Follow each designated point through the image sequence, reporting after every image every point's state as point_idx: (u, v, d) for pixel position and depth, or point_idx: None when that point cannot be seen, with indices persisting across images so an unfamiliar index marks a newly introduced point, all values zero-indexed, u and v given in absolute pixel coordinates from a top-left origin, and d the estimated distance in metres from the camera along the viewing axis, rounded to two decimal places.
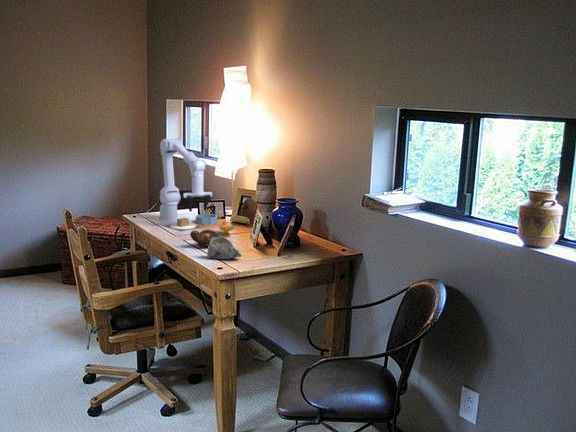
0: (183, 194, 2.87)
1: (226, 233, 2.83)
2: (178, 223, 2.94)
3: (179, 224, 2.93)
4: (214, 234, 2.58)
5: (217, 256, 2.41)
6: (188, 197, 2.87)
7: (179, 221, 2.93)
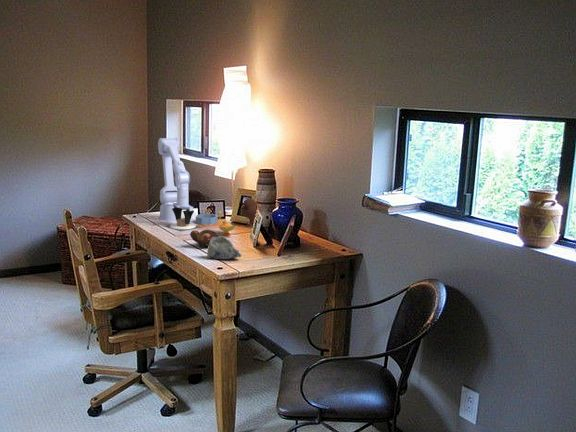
0: (175, 203, 2.99)
1: (226, 233, 2.83)
2: (178, 223, 2.94)
3: (179, 224, 2.93)
4: (214, 234, 2.58)
5: (217, 256, 2.41)
6: (175, 207, 2.97)
7: (179, 221, 2.93)
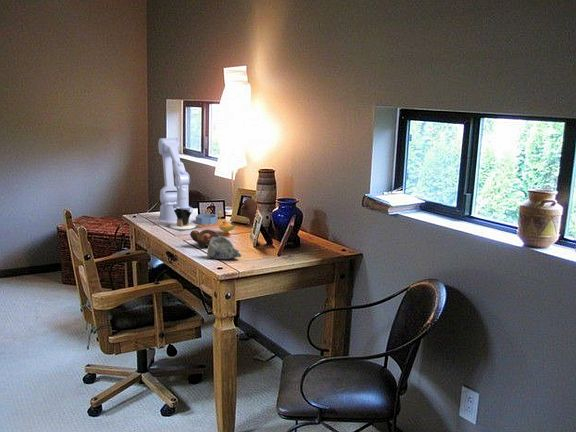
0: (174, 204, 2.99)
1: (226, 233, 2.83)
2: (178, 223, 2.94)
3: (179, 224, 2.93)
4: (214, 234, 2.58)
5: (217, 256, 2.41)
6: (175, 208, 2.97)
7: (179, 221, 2.93)
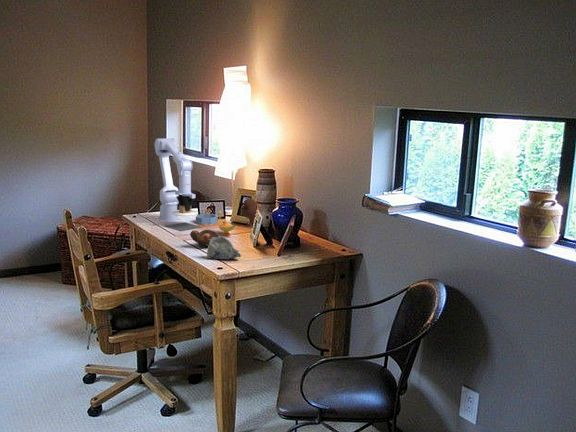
0: None
1: (226, 233, 2.83)
2: (180, 210, 2.94)
3: (181, 211, 2.93)
4: (214, 234, 2.58)
5: (217, 256, 2.41)
6: (177, 195, 2.96)
7: (181, 208, 2.93)
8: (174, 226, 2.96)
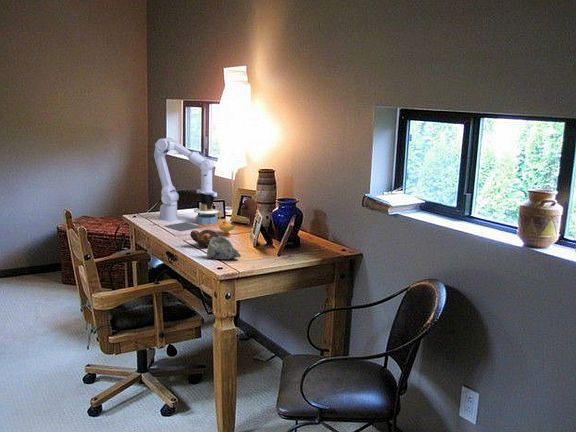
0: (198, 190, 3.09)
1: (226, 233, 2.83)
2: (202, 208, 3.03)
3: (203, 209, 3.03)
4: (214, 234, 2.58)
5: (217, 256, 2.41)
6: None
7: (203, 206, 3.03)
8: (174, 226, 2.96)
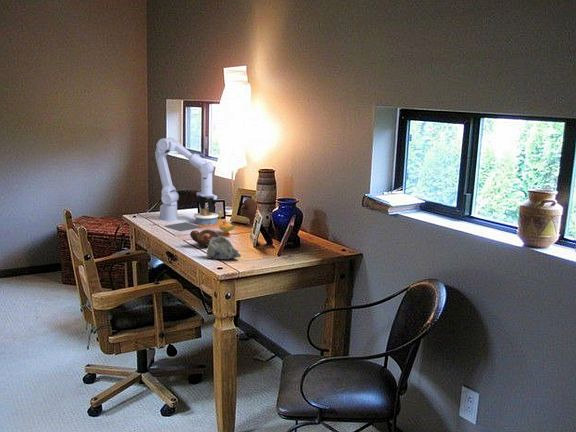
0: (198, 193, 3.09)
1: (226, 233, 2.83)
2: (201, 212, 3.04)
3: (202, 213, 3.03)
4: (214, 234, 2.58)
5: (216, 256, 2.41)
6: (199, 196, 3.07)
7: (202, 210, 3.03)
8: (174, 226, 2.96)
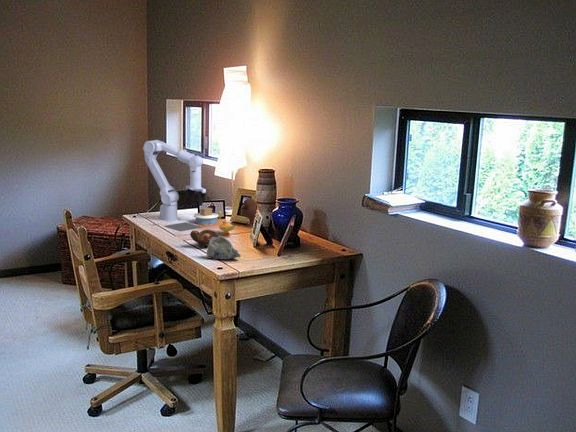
0: (187, 186, 3.09)
1: (226, 233, 2.83)
2: (201, 212, 3.04)
3: (202, 213, 3.03)
4: (214, 234, 2.58)
5: (216, 256, 2.41)
6: (188, 189, 3.07)
7: (202, 210, 3.03)
8: (174, 226, 2.96)
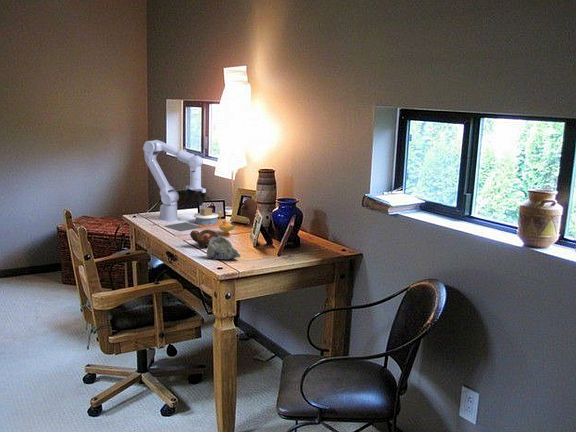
0: (187, 186, 3.09)
1: (226, 233, 2.83)
2: (201, 212, 3.04)
3: (202, 213, 3.03)
4: (214, 234, 2.58)
5: (216, 256, 2.41)
6: (188, 189, 3.07)
7: (202, 210, 3.03)
8: (174, 226, 2.96)
